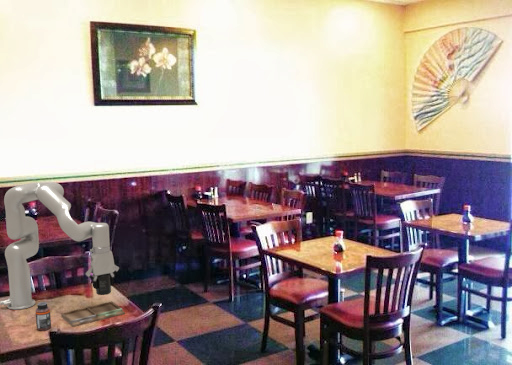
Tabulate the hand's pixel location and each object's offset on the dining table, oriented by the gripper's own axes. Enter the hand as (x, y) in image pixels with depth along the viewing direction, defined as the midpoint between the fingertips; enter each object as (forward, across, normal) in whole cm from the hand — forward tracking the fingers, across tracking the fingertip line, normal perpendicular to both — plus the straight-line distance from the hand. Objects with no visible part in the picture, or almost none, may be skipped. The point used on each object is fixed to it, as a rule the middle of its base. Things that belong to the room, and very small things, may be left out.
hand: (103, 286), depth 252 cm
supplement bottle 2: (+3, 0, 0) cm, 3 cm away
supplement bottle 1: (+12, -28, -2) cm, 31 cm away
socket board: (+12, -6, -1) cm, 14 cm away
